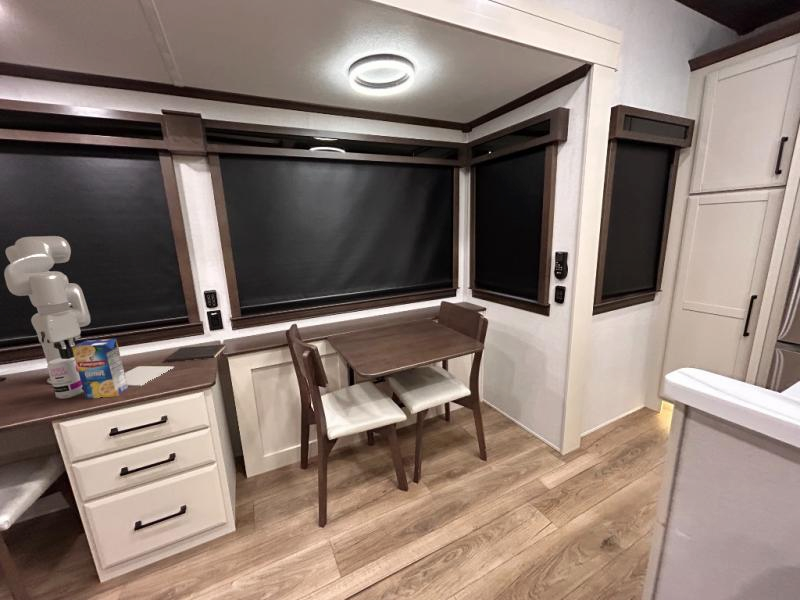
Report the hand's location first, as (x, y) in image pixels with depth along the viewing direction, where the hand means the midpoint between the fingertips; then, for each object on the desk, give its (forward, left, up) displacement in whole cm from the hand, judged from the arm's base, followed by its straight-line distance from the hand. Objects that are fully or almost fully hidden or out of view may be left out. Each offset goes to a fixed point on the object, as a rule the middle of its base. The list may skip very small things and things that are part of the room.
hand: (67, 357), depth 113 cm
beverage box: (0, +10, -20) cm, 23 cm away
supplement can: (-15, +9, -20) cm, 27 cm away
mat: (0, +25, -20) cm, 32 cm away
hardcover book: (+9, +50, -21) cm, 55 cm away
